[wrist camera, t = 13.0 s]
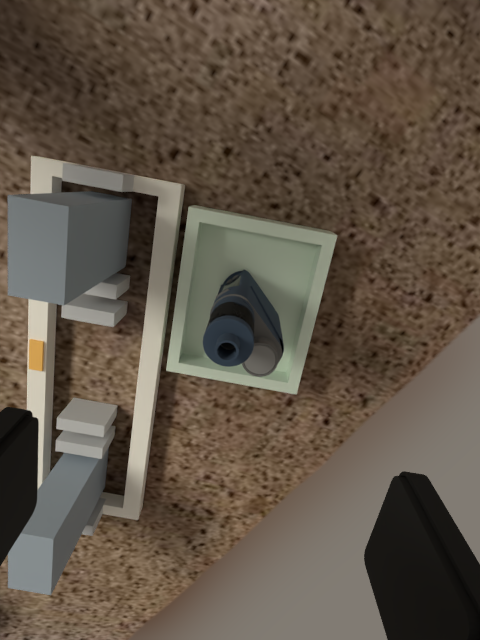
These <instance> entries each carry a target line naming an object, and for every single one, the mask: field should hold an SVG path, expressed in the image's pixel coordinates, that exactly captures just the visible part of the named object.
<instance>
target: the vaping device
mask: <svg viewBox="0 0 480 640" xmlns="http://www.w3.org/2000/svg"><path fill="white" fill-rule="evenodd" d="M203 348H204V351H205V353H206V355H207V356H208V357H209V358H210V360H212V361H213V362H214V363H216V364H218V365H221V366H226V367H232V366H237V365H240V364H242V366H243V368H244V369H245V370H246V372H248V373H249V374H251V375H253V376H257V377H263V376H267V375H269V374H271V373H272V372H273V371H274V370H275V369H276V367H277V365H278V363H279V361H280V359H281V358H282V355H283V352H284V343H283V337H282V331H281V325H280V319H279V315H278V313H277V312H276V311H275V309H274V307H273V306H272V304H271V303H270V301H269V300H268V298H267V297H266V296H265V294H264V293H263V291H262V290H261V288H260V287H259V286H258V284H257V283H256V281H255V280H254V278H253V277H252V276H251V274H250V273H249V272H248V271H246V270H244V269H243V271H238V272H235V273H233V274H231V275H230V276H229V277H228V278H226V280H225V281H224V283H223V285H222V284H221V286H220V289H219V292H218V295H217V296H216V299H215V301H214V304H213V306H212V308H211V311H210V319H209V322H208V325H207V328H206V330H205V333H204V336H203Z"/></svg>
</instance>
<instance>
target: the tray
mask: <svg viewBox="0 0 480 640" xmlns="http://www.w3.org/2000/svg"><path fill="white" fill-rule="evenodd" d="M336 239H337V235H336V234H335V233H333V232H331V231H328V230H323V229H317V228H312V227H307V226H302V225H297V224H291V223H286V222H281V221H276V220H271V219H265V218H260V217H255V216H250V215H245V214H239V213H234V212H229V211H224V210H219V209H213V208H208V207H203V206H198V205H192V206H189V208H188V215H187V222H186V229H185V237H184V244H183V251H182V258H181V266H180V273H179V280H178V287H177V295H176V302H175V309H174V317H173V324H172V331H171V338H170V346H169V353H168V360H167V367H166V371H170V372H176V373H181V374H187V375H192V376H198V377H203V378H208V379H214V380H219V381H225V382H230V383H236V384H241V385H247V386H252V387H258V388H263V389H269V390H274V391H279V392H285V393H290V394H296V395H297V391H298V387H299V383H300V379H301V375H302V371H303V367H304V364H305V360H306V356H307V352H308V348H309V344H310V340H311V336H312V332H313V329H314V325H315V321H316V317H317V313H318V309H319V305H320V301H321V297H322V294H323V290H324V286H325V282H326V278H327V274H328V270H329V266H330V262H331V259H332V255H333V251H334V247H335V243H336ZM243 269H244V270H246V271H248V272H249V273H250V274H251V276H252V277H253V278H254V280H255V281H256V283H257V284H258V286H259V287H260V288H261V290H262V291H263V293H264V294H265V296H266V297H267V298H268V300H269V301H270V303H271V304H272V306H273V307H274V309H275V311H276V312H277V313H278V315H279V319H280V325H281V331H282V337H283V343H284V352H283V355H282V358H281V359H280V361H279V363H278V365H277V367H276V369H275V370H274V371H273V372H272V373H271V374H269V375H267V376H263V377H257V376H253V375H251V374H249V373H248V372H246V370H245V369H244V368H243V366H242V364H240V365H237V366H232V367H226V366H221V365H218V364H216V363H214V362H213V361H212V360H210V358H209V357H208V356H207V355H206V353H205V351H204V348H203V336H204V333H205V330H206V328H207V325H208V322H209V319H210V311H211V308H212V306H213V304H214V301H215V299H216V296H217V295H218V292H219V289H220V286H221V284H222V285H223V283H224V281H225V280H226V278H228V277H229V276H230V275H231V274H233V273H235V272H238V271H243Z"/></svg>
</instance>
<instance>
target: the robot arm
mask: <svg viewBox="0 0 480 640" xmlns="http://www.w3.org/2000/svg"><path fill="white" fill-rule="evenodd" d="M38 432H39V421H38V418H36V417H33V414H32V412H31V411H30V410H24V409H18V408H11V407H6V408H5V409H3V410H2V411H1V412H0V566H1V564H2V562H3V561H4V559H5V558H6V556H7V554H8V553H9V551H10V550H11V548H12V546H13V545H14V543H15V542H16V540H17V539H18V537H19V535H20V534H21V532H22V531H23V529H24V527H25V526H26V524H27V523H28V521H29V519H30V518H31V516H32V514H33V513H34V510H35V507H36V504H37V490H38ZM364 557H365V558H364V560H365V566H366V569H367V573H368V576H369V579H370V583H371V586H372V589H373V593H374V596H375V599H376V602H377V606H378V609H379V612H380V616H381V619H382V622H383V626H384V629H385V632H386V635H387V639H388V640H480V564H479V562H478V561H477V559H476V557H475V556H474V554H473V552H472V551H471V549H470V547H469V546H468V544H467V542H466V541H465V539H464V537H463V536H462V534H461V532H460V531H459V529H458V527H457V525H456V524H455V522H454V521H453V519H452V517H451V515H450V514H449V512H448V510H447V509H446V507H445V505H444V504H443V502H442V500H441V499H440V497H439V495H438V494H437V492H436V490H435V489H434V487H433V485H432V484H431V482H430V480H429V479H428V477H427V476H425V475H422V474H416V473H410V472H402V473H400V475H399V476H395V477H394V478H393V480H392V481H391V484H390V487H389V489H388V492H387V494H386V497H385V500H384V502H383V505H382V507H381V510H380V513H379V515H378V518H377V521H376V523H375V526H374V529H373V531H372V533H371V536H370V539H369V541H368V544H367V546H366V549H365V555H364Z"/></svg>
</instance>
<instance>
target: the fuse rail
mask: <svg viewBox="0 0 480 640" xmlns="http://www.w3.org/2000/svg"><path fill="white" fill-rule="evenodd" d="M62 181H66V182H72V183H77V184H82V185H87V186H92V187H98V188H103V189H108V190H113V191H118V192H132V191H133V192H138V193H143V194H149V195H154V196H159V197H158V205H157V214H156V223H155V232H154V241H153V249H152V258H151V267H150V276H149V285H148V293H147V302H146V311H145V320H144V328H143V337H142V346H141V355H140V364H139V372H138V381H137V390H136V399H135V408H134V416H133V425H132V434H131V443H130V451H129V460H128V469H127V478H126V487H125V495H124V496H123V495H117V494H111V493H106V492H103V490H104V488H105V482H106V471H107V461H108V450H109V445H110V444H111V442H112V440H113V438H114V436H115V427H116V426H111V424H112V423H113V421H114V419H115V418H116V416H117V407H118V405H112V404H106V403H101V402H95V401H90V400H84V399H79V398H73V399H72V400H71V402H70V403H69V404H68V405H67V406H66V408H65V409H64V410H63V411H62V412H61V413H60V415H59V416H58V417H57V426H56V429H60V430H63V432H62V433H61V434H60V435H59V437H58V438H57V439H56V449H55V451H59V452H64V454H63V455H62V457H61V458H60V459H59V461H58V462H57V463H56V465H55V466H54V468H53V469H52V470H51V472H50V463H51V438H52V413H53V388H54V363H55V338H56V313H57V304H59V305H62V313H61V318H66V319H72V320H77V321H82V322H88V323H93V324H99V325H104V326H110V327H114V326H115V325H116V324H117V323H118V322H119V321H120V320H121V319H122V318H123V317H124V316H125V315H126V314H127V305H128V301H123V300H117V298H118V297H120V296H121V295H122V294H123V293H124V292H126V291H127V290H128V289H129V285H130V275H124V274H119V273H116V272H118V271H120V270H121V269H123V268H124V267H126V258H127V248H128V237H129V227H130V216H131V205H132V199H130V198H124V197H119V196H114V195H109V194H104V193H98V192H93V191H87V192H64V193H61V188H62ZM184 191H185V184H180V183H174V182H169V181H164V180H159V179H154V178H149V177H143V176H138V175H133V174H128V173H123V172H118V171H112V170H107V169H102V168H97V167H92V166H86V165H81V164H76V163H71V162H66V161H61V160H55V159H50V158H45V157H39V156H31V191H30V194H19V195H8V295H10V296H16V297H21V298H26V299H29V311H28V372H27V410H30V411H31V412H32V414H33V417H36V418H38V421H39V432H38V490H37V504H36V507H35V510H34V513H33V514H32V516H31V518H30V519H29V521H28V523H27V524H26V526H25V527H24V529H23V531H22V532H21V534H20V535H19V537H18V539H17V540H16V542H15V543H14V545H13V546H12V548H11V550H10V551H9V553H8V588H12V589H18V590H24V591H29V592H35V593H41V594H47V595H51V594H52V592H53V590H54V588H55V586H56V584H57V582H58V580H59V578H60V576H61V574H62V572H63V570H64V568H65V566H66V564H67V562H68V560H69V558H70V556H71V554H72V552H73V550H74V548H75V546H76V544H77V542H78V540H79V538H80V536H81V534H85V535H91V536H92V535H93V533H94V531H95V529H96V527H97V525H98V523H99V520H100V518H101V516H102V514H105V515H111V516H117V517H123V518H128V519H134V520H138V519H139V516H140V513H141V510H142V507H143V499H144V491H145V484H146V476H147V469H148V461H149V454H150V446H151V439H152V431H153V424H154V416H155V409H156V401H157V394H158V386H159V379H160V371H161V364H162V356H163V349H164V341H165V334H166V326H167V319H168V311H169V303H170V296H171V288H172V281H173V273H174V266H175V258H176V251H177V243H178V236H179V228H180V221H181V213H182V206H183V198H184Z"/></svg>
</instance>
